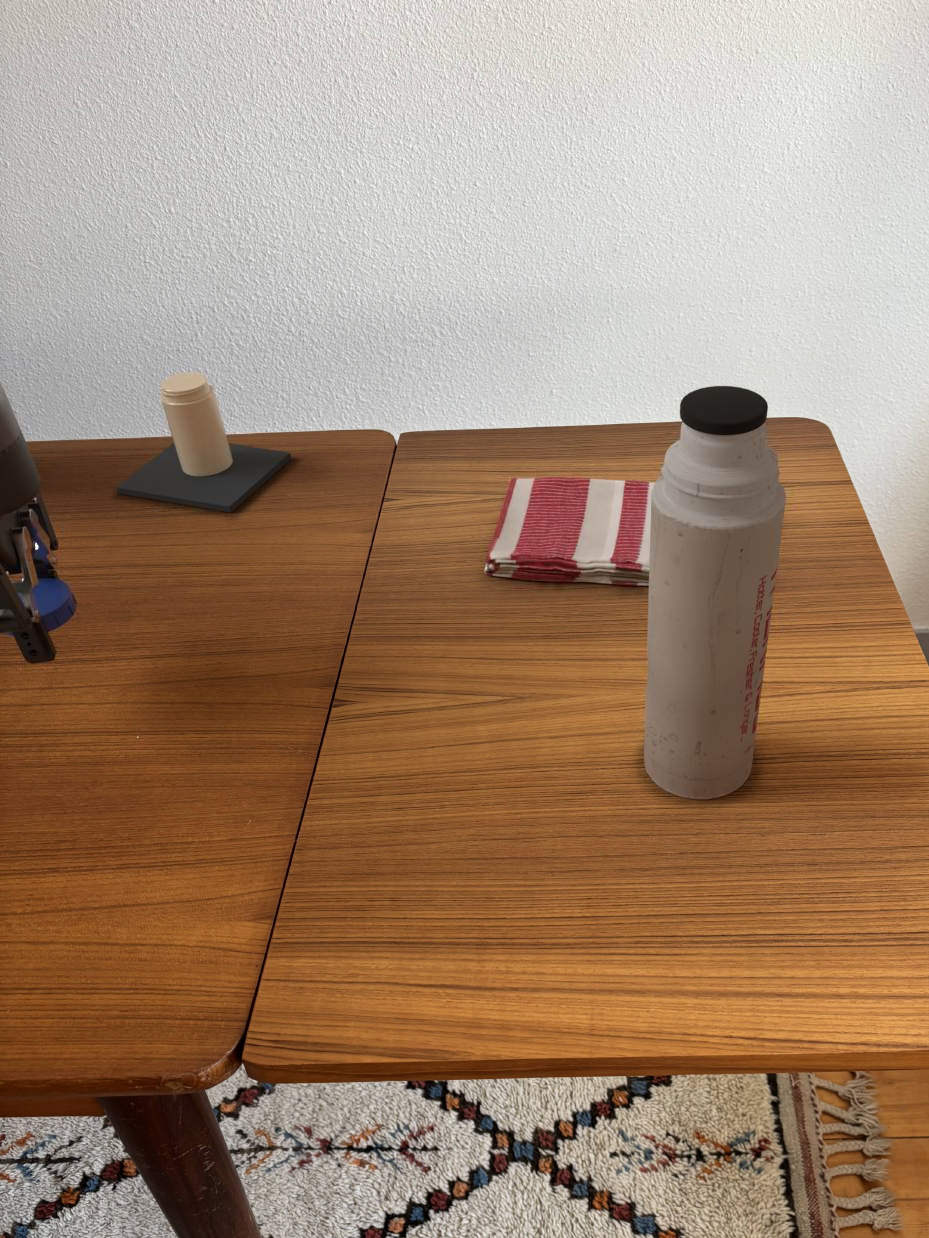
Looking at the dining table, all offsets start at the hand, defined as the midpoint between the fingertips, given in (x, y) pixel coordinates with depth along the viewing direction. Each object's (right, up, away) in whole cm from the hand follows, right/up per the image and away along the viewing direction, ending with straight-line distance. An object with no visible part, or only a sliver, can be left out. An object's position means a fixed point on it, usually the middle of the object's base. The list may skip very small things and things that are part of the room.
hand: (50, 634), depth 83 cm
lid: (0, +2, -2) cm, 3 cm away
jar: (+2, +22, +30) cm, 37 cm away
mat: (+2, +20, +30) cm, 36 cm away
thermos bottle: (+51, -10, -5) cm, 52 cm away
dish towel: (+46, +11, +18) cm, 51 cm away
